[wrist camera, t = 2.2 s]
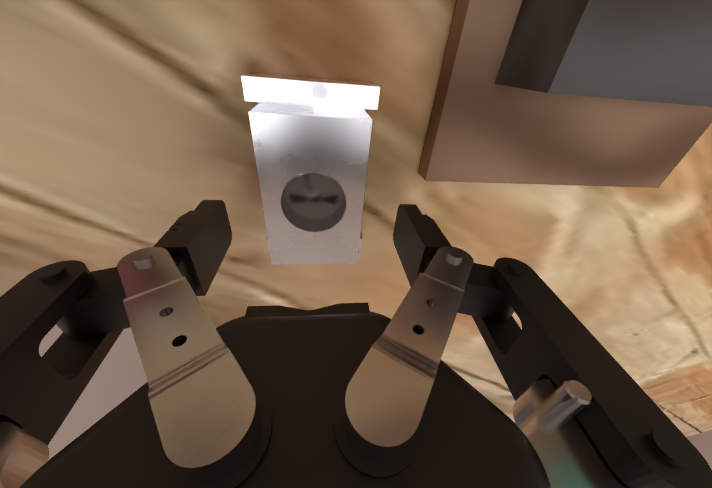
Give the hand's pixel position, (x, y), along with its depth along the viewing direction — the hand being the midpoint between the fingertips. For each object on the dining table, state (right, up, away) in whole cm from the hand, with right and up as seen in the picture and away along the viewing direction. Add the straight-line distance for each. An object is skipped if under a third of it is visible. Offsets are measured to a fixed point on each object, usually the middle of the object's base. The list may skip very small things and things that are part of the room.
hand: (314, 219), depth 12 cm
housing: (-1, +4, +5) cm, 6 cm away
